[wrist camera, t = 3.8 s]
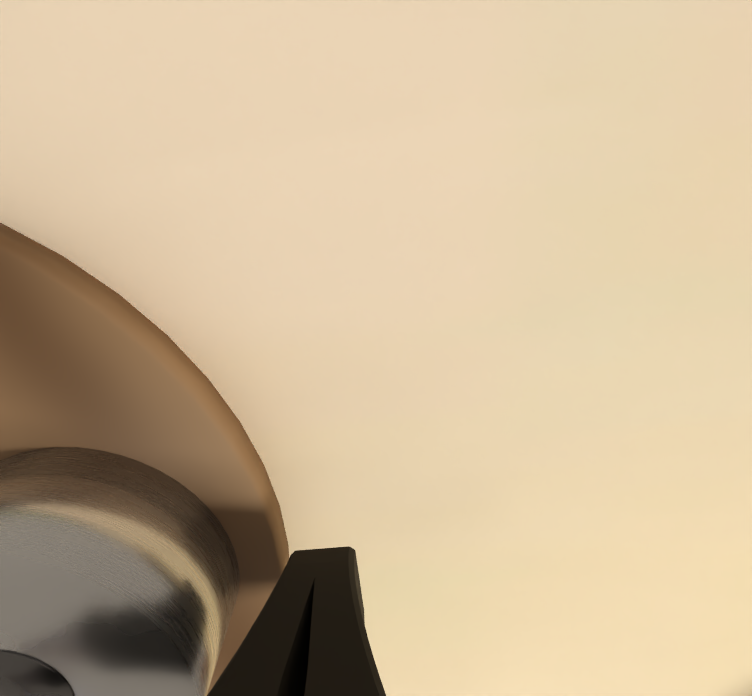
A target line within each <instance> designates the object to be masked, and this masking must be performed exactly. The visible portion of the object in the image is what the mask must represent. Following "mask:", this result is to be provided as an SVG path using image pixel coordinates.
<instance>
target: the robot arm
mask: <svg viewBox="0 0 752 696" xmlns="http://www.w3.org/2000/svg"><path fill="white" fill-rule="evenodd" d="M207 696H386V694H385V691H384V688H383V685H382V682H381V680H380V676H379V673H378V670H377V667H376V664H375V661H374V658H373V655H372V651H371V648H370V644H369V641H368V637H367V633H366V629H365V625H364V607H363V601H362V594H361V587H360V580H359V574H358V567H357V560H356V553H355V550H354V549H352V548H351V547H338V548H325V549H312V550H300V551H295V552H294V553H293V554H292V555H291V556H290V558H289V560H288V562H287V564H286V566H285V568H284V570H283V572H282V574H281V576H280V578H279V580H278V582H277V583H276V585H275V587H274V589H273V591H272V593H271V594H270V596H269V598H268V600H267V602H266V603H265V605H264V607H263V609H262V610H261V612H260V614H259V615H258V617H257V619H256V620H255V622H254V624H253V625H252V627H251V629H250V630H249V632H248V634H247V635H246V637H245V639H244V640H243V642H242V644H241V645H240V647H239V648H238V650H237V651H236V653H235V654H234V656H233V657H232V659H231V661H230V662H229V664H228V665H227V667H226V668H225V670H224V671H223V673H222V674H221V676H220V677H219V679H218V680H217V682H216V683H215V685H214V686H213V688H212V689H211V690H210V692H209V693H208V695H207Z"/></svg>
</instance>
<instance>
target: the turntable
mask: <svg viewBox="0 0 752 696" xmlns="http://www.w3.org/2000/svg"><path fill="white" fill-rule="evenodd" d="M54 447H77V448H86V449H94V450H101V451H105V452H110V453H114V454H118V455H122V456H125V457H128V458H131V459H134V460H136V461H139V462H142V463H144V464H146V465H148V466H151V467H153V468H155V469H157V470H159V471H161V472H163V473H165V474H166V475H168V476H170V477H171V478H173V479H175V480H176V481H178V482H179V483H181V484H182V485H183V486H185V487H186V488H187V489H189V490H190V491H191V492H193V493H194V494H195V495H196V496H197V497H198V498H199V499H200V500H201V501H202V502H203V503H204V504H206V505H207V506H208V508H209V509H210V510H211V511H212V512H213V514H214V515H215V516H216V517H217V518H218V520H219V521H220V523H221V524H222V526H223V527H224V529H225V531H226V532H227V534H228V536H229V538H230V540H231V543H232V545H233V547H234V550H235V553H236V557H237V560H238V566H239V575H240V580H239V592H238V596H237V599H236V603H235V607H234V610H233V613H232V616H231V619H230V622H229V626H228V629H227V632H226V635H225V638H224V641H223V645H222V648H221V651H220V654H219V657H218V660H217V664H216V667H215V670H214V673H213V676H212V679H211V683H210V686H209V689H208V692H207V695H208V693H209V692H210V690H211V689H212V688H213V686H214V685H215V683H216V682H217V680H218V679H219V677H220V676H221V674H222V673H223V671H224V670H225V668H226V667H227V665H228V664H229V662H230V661H231V659H232V657H233V656H234V654H235V653H236V651H237V650H238V648H239V647H240V645H241V644H242V642H243V640H244V639H245V637H246V635H247V634H248V632H249V630H250V629H251V627H252V625H253V624H254V622H255V620H256V619H257V617H258V615H259V614H260V612H261V610H262V609H263V607H264V605H265V603H266V602H267V600H268V598H269V596H270V594H271V593H272V591H273V589H274V587H275V585H276V583H277V582H278V580H279V578H280V576H281V574H282V572H283V570H284V568H285V566H286V564H287V562H288V560H289V549H288V541H287V537H286V532H285V528H284V523H283V519H282V514H281V510H280V505H279V503H278V500H277V498H276V495H275V492H274V490H273V487H272V485H271V482H270V480H269V477H268V474H267V472H266V469H265V467H264V464H263V462H262V461H261V459H260V457H259V455H258V453H257V452H256V450H255V448H254V446H253V444H252V443H251V441H250V439H249V437H248V435H247V434H246V432H245V430H244V428H243V426H242V425H241V423H240V421H239V420H238V418H237V417H236V416H235V414H234V413H233V412H232V410H231V409H230V408H229V406H228V405H227V404H226V402H225V401H224V400H223V398H222V397H221V395H220V394H219V393H218V391H217V390H216V389H215V387H214V386H213V385H212V383H211V382H210V381H209V379H208V378H207V377H206V376H205V375H204V374H203V373H202V372H201V371H200V369H199V368H198V367H197V366H196V365H195V364H194V363H193V362H192V361H191V360H190V359H189V358H188V357H187V356H186V355H185V354H184V352H183V351H182V350H181V349H180V348H179V347H178V346H177V345H176V344H175V343H174V342H173V341H172V340H171V339H170V338H169V337H168V335H166V334H165V333H164V332H163V331H162V330H160V329H159V328H158V327H157V326H156V325H155V324H153V323H152V322H151V321H150V320H149V319H148V318H146V317H145V316H144V315H143V314H142V313H140V312H139V311H138V310H137V309H136V308H135V307H133V306H132V305H131V304H130V303H129V302H127V301H126V300H125V299H124V298H123V297H122V296H120V295H119V294H118V293H116V292H115V291H113V290H112V289H110V288H109V287H108V286H106V285H105V284H103V283H102V282H100V281H99V280H97V279H96V278H94V277H93V276H91V275H90V274H88V273H87V272H85V271H84V270H82V269H81V268H80V267H78V266H77V265H75V264H74V263H72V262H71V261H69V260H68V259H66V258H65V257H63V256H61V255H60V254H58V253H56V252H54V251H52V250H50V249H48V248H47V247H45V246H43V245H41V244H39V243H37V242H35V241H33V240H32V239H30V238H28V237H26V236H24V235H22V234H20V233H18V232H17V231H15V230H13V229H11V228H9V227H7V226H5V225H3V224H2V223H0V460H2V459H5V458H8V457H10V456H13V455H16V454H18V453H23V452H27V451H32V450H36V449H44V448H54ZM207 695H206V696H207Z"/></svg>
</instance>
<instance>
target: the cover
mask: <svg viewBox="0 0 752 696" xmlns="http://www.w3.org/2000/svg"><path fill="white" fill-rule="evenodd" d="M239 580H240V575H239V566H238V560H237V557H236V553H235V550H234V547H233V545H232V543H231V540H230V538H229V536H228V534H227V532H226V531H225V529H224V527H223V526H222V524H221V523H220V521H219V520H218V518H217V517H216V516H215V515H214V514H213V512H212V511H211V510H210V509H209V508H208V506H207V505H206V504H204V503H203V502H202V501H201V500H200V499H199V498H198V497H197V496H196V495H195V494H194V493H193V492H191V491H190V490H189V489H187V488H186V487H185V486H183V485H182V484H181V483H179V482H178V481H176V480H175V479H173V478H171V477H170V476H168V475H166V474H165V473H163V472H161V471H159V470H157V469H155V468H153V467H151V466H148V465H146V464H144V463H142V462H139V461H136V460H134V459H131V458H128V457H125V456H122V455H118V454H114V453H110V452H105V451H101V450H94V449H86V448H77V447H54V448H44V449H36V450H32V451H27V452H23V453H18V454H16V455H13V456H10V457H8V458H5V459H2V460H0V696H206V695H207V692H208V689H209V686H210V683H211V679H212V676H213V673H214V670H215V667H216V664H217V660H218V657H219V654H220V651H221V648H222V645H223V641H224V638H225V635H226V632H227V629H228V626H229V622H230V619H231V616H232V613H233V610H234V607H235V603H236V599H237V596H238V592H239Z"/></svg>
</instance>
